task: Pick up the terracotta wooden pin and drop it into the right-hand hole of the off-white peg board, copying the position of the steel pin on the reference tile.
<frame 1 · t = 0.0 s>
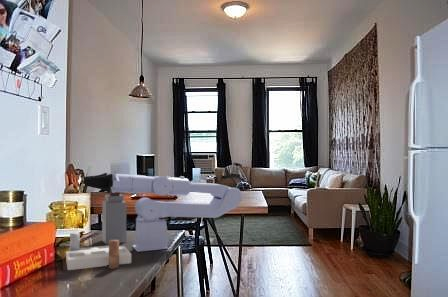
hand: (84, 181, 114), 22 cm above the kitchen counter, tool horizontal, fingers open, 7 cm apart
terracotta pin: (113, 267, 100), on the kitchen counter
reference tile: (94, 254, 114), on the kitchen counter
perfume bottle: (114, 241, 131), on the kitchen counter
peg board: (98, 261, 105), on the kitchen counter
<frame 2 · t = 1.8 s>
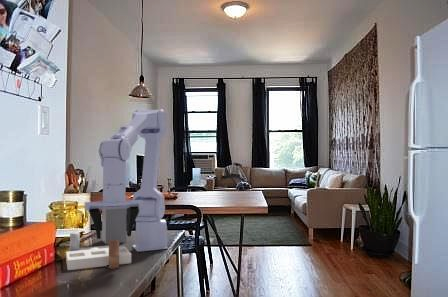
hand: (113, 236, 100), 8 cm above the kitchen counter, tool pointing down, fingers open, 7 cm apart
nothing on the kitchen counter moved.
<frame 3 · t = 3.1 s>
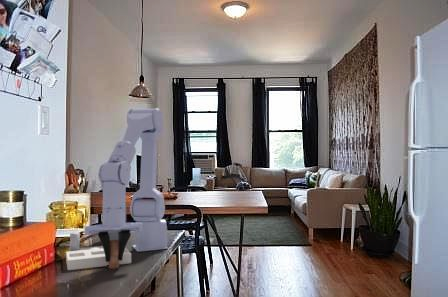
hand: (113, 260, 100), 2 cm above the kitchen counter, tool pointing down, fingers closed on terracotta pin, 3 cm apart
terracotta pin: (113, 267, 100), on the kitchen counter, touching gripper
everything else where it was.
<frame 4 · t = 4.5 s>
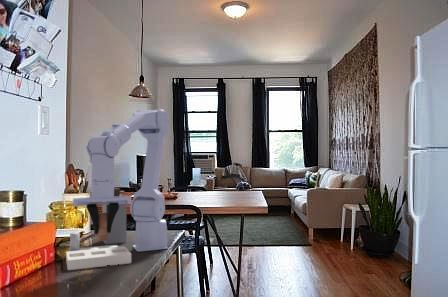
hand: (102, 232, 101), 9 cm above the kitchen counter, tool pointing down, fingers closed on terracotta pin, 3 cm apart
terracotta pin: (102, 239, 101), point 7 cm above the kitchen counter, touching gripper
everything else where it was.
when the fingers open (3 cm above the kitchen counter, at t = 6.3 s): terracotta pin drops 1 cm, resting in peg board.
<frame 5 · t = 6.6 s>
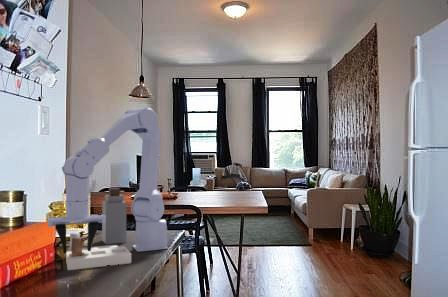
hand: (77, 251, 103), 3 cm above the kitchen counter, tool pointing down, fingers open, 5 cm apart
terracotta pin: (76, 264, 103), resting in peg board
everything else where it was.
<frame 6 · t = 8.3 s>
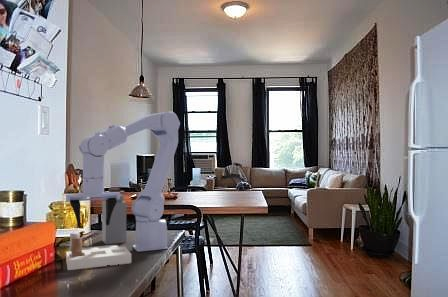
hand: (93, 225, 109), 9 cm above the kitchen counter, tool pointing down, fingers open, 7 cm apart
nothing on the kitchen counter moved.
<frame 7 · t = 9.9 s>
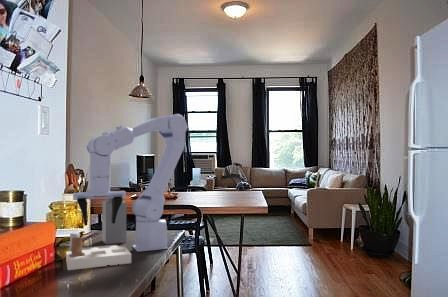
hand: (99, 223, 111), 9 cm above the kitchen counter, tool pointing down, fingers open, 7 cm apart
nothing on the kitchen counter moved.
at the end: terracotta pin 0.1 cm from the target spot on the peg board, point 0.0 cm above the peg board's base; terracotta pin tilted 1°; the gripper is holding nothing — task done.
